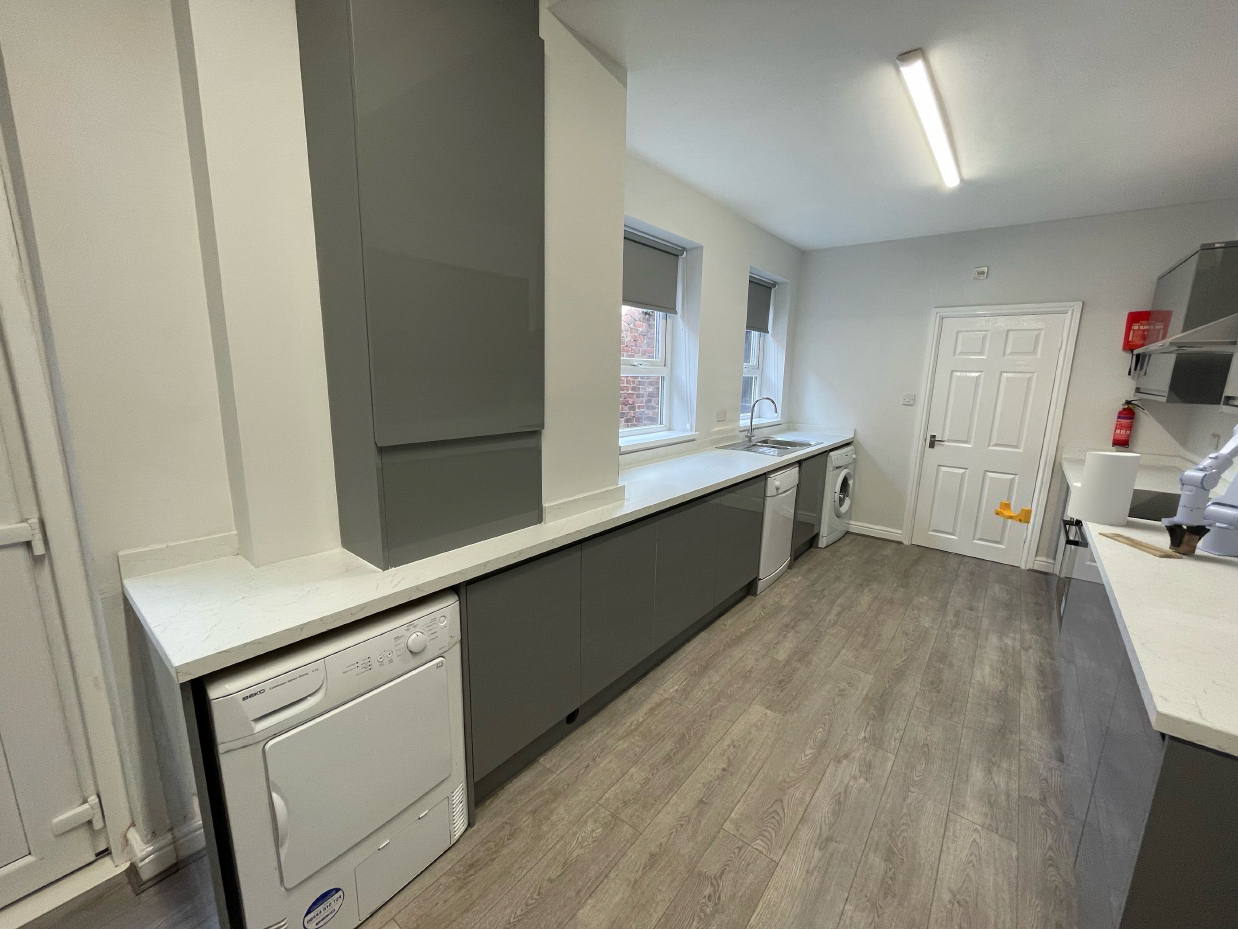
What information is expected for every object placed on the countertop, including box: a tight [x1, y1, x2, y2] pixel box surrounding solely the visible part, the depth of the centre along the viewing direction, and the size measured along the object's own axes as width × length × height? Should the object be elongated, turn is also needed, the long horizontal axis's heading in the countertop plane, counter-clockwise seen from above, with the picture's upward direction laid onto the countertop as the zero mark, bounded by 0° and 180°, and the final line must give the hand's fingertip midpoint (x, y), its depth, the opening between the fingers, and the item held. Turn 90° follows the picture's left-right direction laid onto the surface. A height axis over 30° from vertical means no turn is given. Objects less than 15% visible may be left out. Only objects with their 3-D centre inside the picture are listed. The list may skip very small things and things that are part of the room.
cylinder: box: [1066, 451, 1142, 526], centre depth 195 cm, size 17×17×28 cm
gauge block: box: [1168, 533, 1199, 555], centre depth 160 cm, size 4×4×6 cm
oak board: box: [1098, 532, 1184, 559], centre depth 167 cm, size 7×22×1 cm, turn 175°
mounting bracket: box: [993, 500, 1033, 524], centre depth 195 cm, size 12×4×6 cm, turn 3°
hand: (1182, 547), depth 160 cm, fingers closed on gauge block, 4 cm apart
